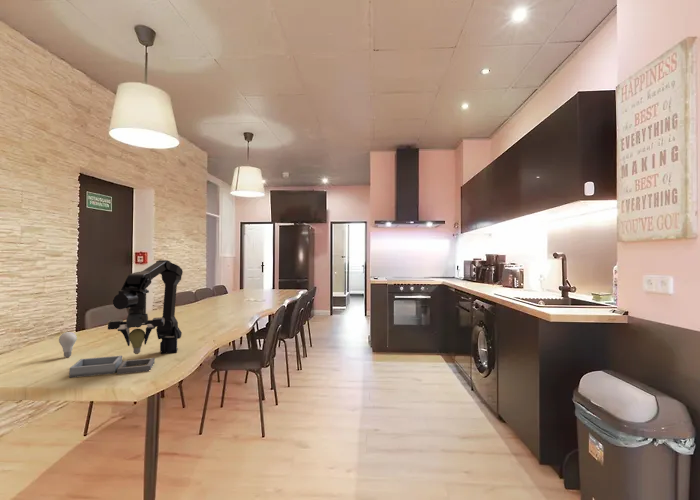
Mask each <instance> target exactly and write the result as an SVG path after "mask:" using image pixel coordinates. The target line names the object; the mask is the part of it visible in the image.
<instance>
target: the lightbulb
mask: <svg viewBox="0 0 700 500" xmlns="http://www.w3.org/2000/svg"><path fill="white" fill-rule="evenodd" d="M77 340H78V337H77V335H76V333H74V332H73V331H66V332H64V333H62V334H60V336H59V338H58V343H59V345H60V346H61V347H62V352H63V357H64V358H70V357H71V356H72V351H73V347H74V345H75V343H76V342H77Z"/></svg>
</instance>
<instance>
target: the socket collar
mask: <svg viewBox="0 0 700 500" xmlns="http://www.w3.org/2000/svg"><path fill="white" fill-rule="evenodd" d="M155 359H156V358H155V357H151V358H150V357H149V358H138V359H130V360H129V359H128V360H127V359H126V360H122V363H121V365H120V366H119V367H118V368H117V371H116V375H123V374H132V373H134V374H135V373H142V372H143V371H145V372H150V371H149V370H151V371H152V369H151V368H153V367H152V366H154V365H155V363H156V362H155ZM145 364H146V365H145ZM153 364H154V365H153ZM143 373H144V372H143Z"/></svg>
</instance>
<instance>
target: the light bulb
mask: <svg viewBox="0 0 700 500" xmlns="http://www.w3.org/2000/svg"><path fill="white" fill-rule="evenodd" d="M129 332H130V334H129V340H130V344H131V346H132V349H133V351H132V352H133V354H135V355H139V354H140V353H141V350H142V349H141V348H142V346H143V342H144V340H145V333H146V331H144V329H142V328H135V329H132V330H131V331H129Z"/></svg>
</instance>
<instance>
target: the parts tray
mask: <svg viewBox="0 0 700 500" xmlns="http://www.w3.org/2000/svg"><path fill="white" fill-rule="evenodd" d="M122 362H123V355H113V356H101V357H90V358H80V359H79V360H78V361H76V362H75V363H74V364H73V365H72V366H70V367H69V371H68V372H69V373H68V374H69V378H70V379H71V378H82V377H92V376H101V375H110V374H111V375H112V374H115V373H117V368H118V367H119V366H120V365H121V363H122Z"/></svg>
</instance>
